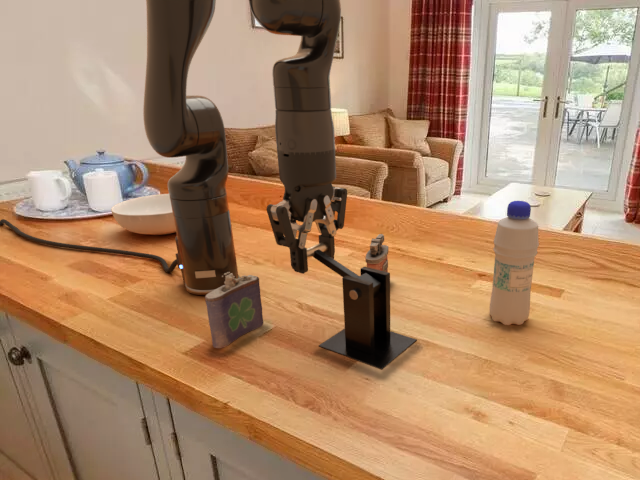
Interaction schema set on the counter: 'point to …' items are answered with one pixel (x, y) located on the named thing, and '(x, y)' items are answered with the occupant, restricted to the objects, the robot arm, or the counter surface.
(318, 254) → the lever
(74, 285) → the counter surface
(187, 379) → the counter surface
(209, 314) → the flask
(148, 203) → the serving bowl
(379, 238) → the lighter
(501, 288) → the bottle
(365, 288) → the bracket
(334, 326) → the counter surface
